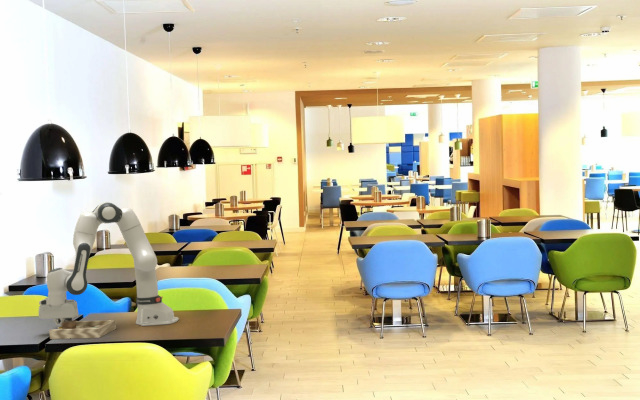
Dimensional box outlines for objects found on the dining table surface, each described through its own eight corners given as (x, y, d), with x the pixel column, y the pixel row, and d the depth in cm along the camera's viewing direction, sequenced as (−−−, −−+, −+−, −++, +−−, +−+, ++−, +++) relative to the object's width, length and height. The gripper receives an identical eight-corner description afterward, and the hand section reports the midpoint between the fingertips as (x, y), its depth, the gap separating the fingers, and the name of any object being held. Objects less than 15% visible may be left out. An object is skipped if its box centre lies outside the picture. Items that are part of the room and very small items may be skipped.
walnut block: (76, 328, 374) (75, 320, 374) (71, 330, 369) (71, 322, 369) (67, 328, 374) (66, 320, 374) (62, 330, 369) (61, 322, 369)
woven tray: (115, 328, 379) (115, 320, 379) (99, 337, 359) (98, 328, 359) (69, 330, 382) (68, 321, 382) (49, 339, 362) (49, 330, 362)
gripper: (79, 298, 373) (81, 324, 374) (42, 299, 376) (44, 325, 377) (73, 300, 367) (75, 327, 368) (36, 301, 370) (38, 328, 371)
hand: (59, 326), depth 372 cm, fingers closed
